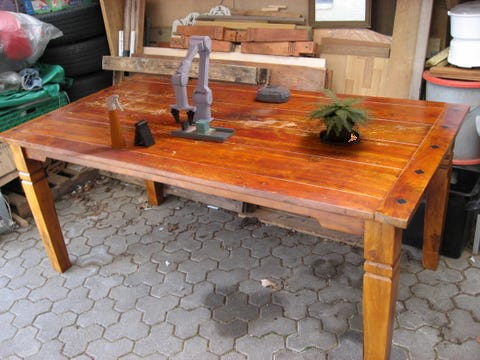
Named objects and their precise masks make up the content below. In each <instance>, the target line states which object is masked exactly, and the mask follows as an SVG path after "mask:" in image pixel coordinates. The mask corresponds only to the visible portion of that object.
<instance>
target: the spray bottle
mask: <svg viewBox="0 0 480 360" xmlns="http://www.w3.org/2000/svg"><path fill="white" fill-rule="evenodd" d="M119 97H120V96H119V94H112V95H110V96H107V97H106V98H105V99H104V101H105V102H106V103H107V111H108V121H109V129H110V130H109V131H110V140H111V147H112V149H114V150H121V149H124V148H126V147H127V145H128V144H127V141H126V137H125V134H124V131H123V128H122V123H121V119H120V117H119V114H118V111H117V108H118V109H119V110H120V111H121V112H124V109H123V107H122V105H120V102H119V99H118V98H119Z"/></svg>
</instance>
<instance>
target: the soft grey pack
mask: <svg viewBox="0 0 480 360" xmlns="http://www.w3.org/2000/svg"><path fill="white" fill-rule="evenodd" d="M291 95H292V93H291V91H290V90H289V89H288V88H286V87H284V86H279V85H271V84H268V85H266V86H261V87H259V88H258V89H257V91H256V99H257V100H258V101H260V102H265V103H275V104H276V103H279V104H280V103H285V102H288V101H289V100H290V98H291Z"/></svg>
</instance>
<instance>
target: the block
mask: <svg viewBox="0 0 480 360" xmlns="http://www.w3.org/2000/svg"><path fill="white" fill-rule="evenodd" d="M194 124H195V126H196V132H198V133H206V132H207V131H209V130H210V122H209V120H201V119H200V120H199V121H197V122H194Z"/></svg>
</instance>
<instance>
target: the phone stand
mask: <svg viewBox="0 0 480 360" xmlns="http://www.w3.org/2000/svg"><path fill="white" fill-rule="evenodd" d="M134 129H135V130H134V138H133V146H135V147H140V148H143V149H144V148H145V149H149V148H151V147H152V146H154V145H156V140H155V138H154V135H153V133H152V131H151V129H150V126H149V122H148V120H147V118H146V119H142V120H139V121H137V122H135V123H134Z"/></svg>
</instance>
